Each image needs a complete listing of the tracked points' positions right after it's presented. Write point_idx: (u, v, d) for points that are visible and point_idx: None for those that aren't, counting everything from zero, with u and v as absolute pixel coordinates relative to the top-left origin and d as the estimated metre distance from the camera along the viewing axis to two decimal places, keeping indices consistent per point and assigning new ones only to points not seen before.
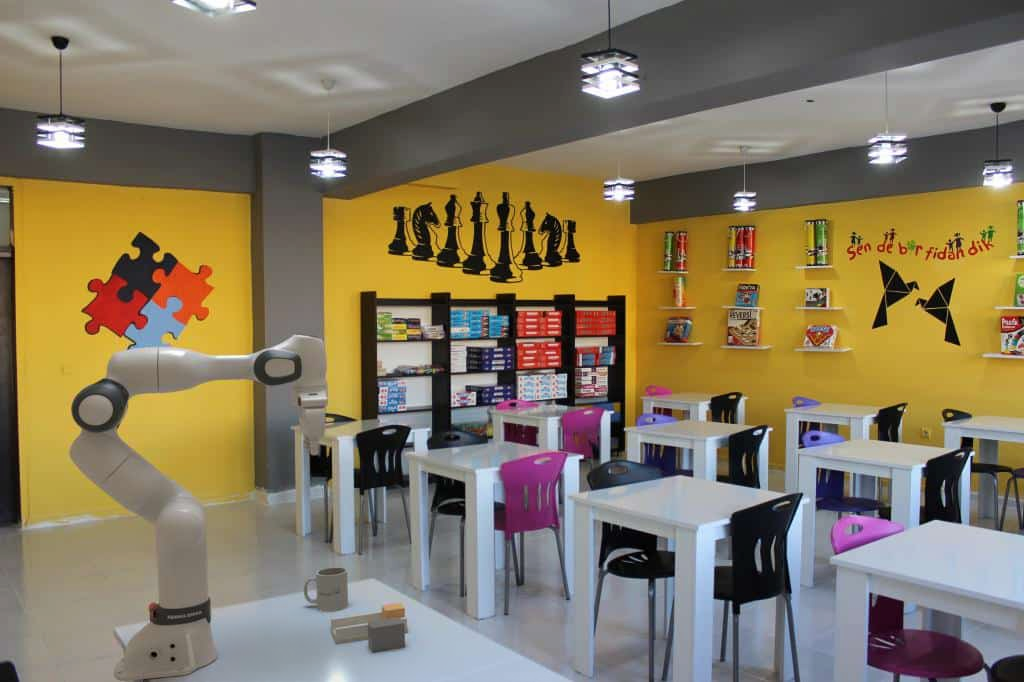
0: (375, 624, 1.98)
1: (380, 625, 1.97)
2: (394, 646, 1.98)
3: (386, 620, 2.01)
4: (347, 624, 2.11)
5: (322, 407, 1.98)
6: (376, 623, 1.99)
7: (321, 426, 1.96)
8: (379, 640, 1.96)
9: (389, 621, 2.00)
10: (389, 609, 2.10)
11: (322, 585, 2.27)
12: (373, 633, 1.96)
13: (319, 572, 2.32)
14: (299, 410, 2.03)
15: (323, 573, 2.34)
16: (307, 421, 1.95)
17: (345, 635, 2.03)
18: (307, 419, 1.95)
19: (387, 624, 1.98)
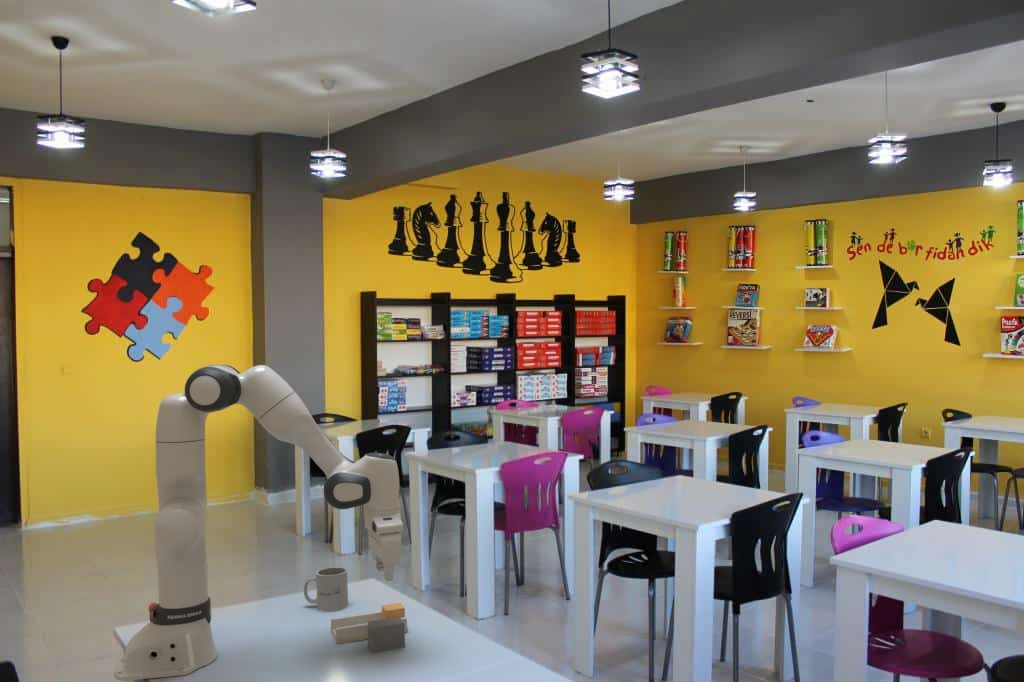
0: (375, 624, 1.98)
1: (380, 625, 1.97)
2: (394, 646, 1.98)
3: (386, 620, 2.01)
4: (347, 624, 2.11)
5: (397, 533, 1.92)
6: (376, 623, 1.99)
7: (397, 553, 1.91)
8: (379, 640, 1.96)
9: (389, 621, 2.00)
10: (389, 609, 2.10)
11: (322, 585, 2.27)
12: (373, 633, 1.96)
13: (319, 572, 2.32)
14: (372, 533, 1.97)
15: (323, 573, 2.34)
16: (383, 549, 1.90)
17: (345, 635, 2.03)
18: (383, 547, 1.90)
19: (387, 624, 1.98)
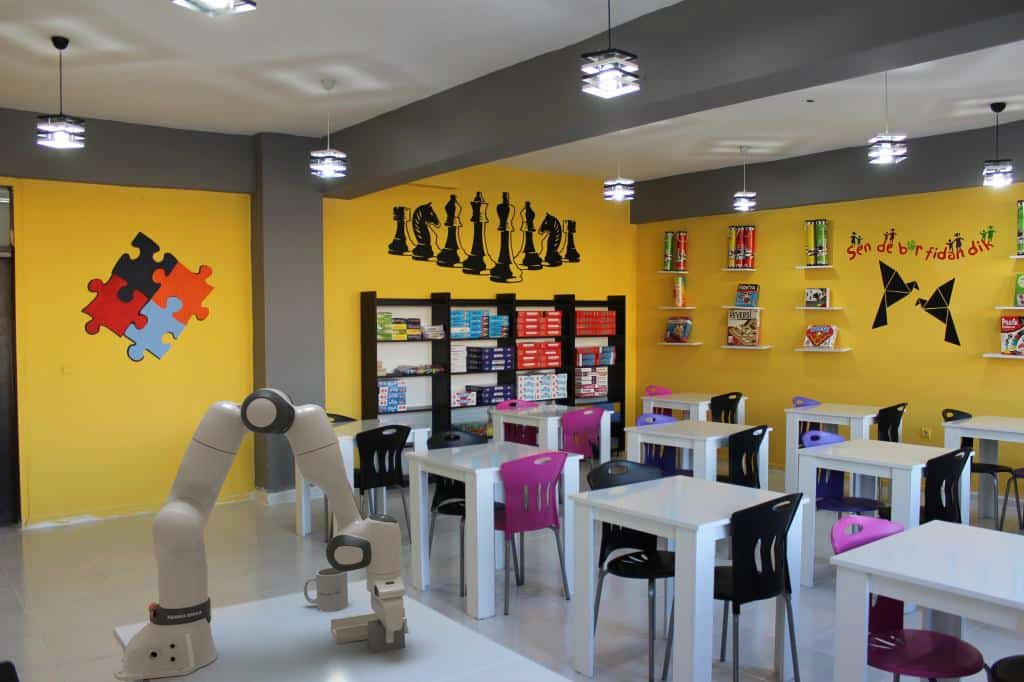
0: (375, 623, 1.98)
1: (380, 625, 1.97)
2: (394, 645, 1.98)
3: None
4: (347, 624, 2.11)
5: (400, 597, 1.92)
6: (376, 622, 1.99)
7: (399, 619, 1.91)
8: (379, 639, 1.96)
9: None
10: None
11: (322, 585, 2.27)
12: (373, 632, 1.96)
13: (319, 572, 2.32)
14: (374, 596, 1.97)
15: (323, 573, 2.34)
16: (385, 614, 1.90)
17: (345, 635, 2.03)
18: (385, 612, 1.90)
19: None
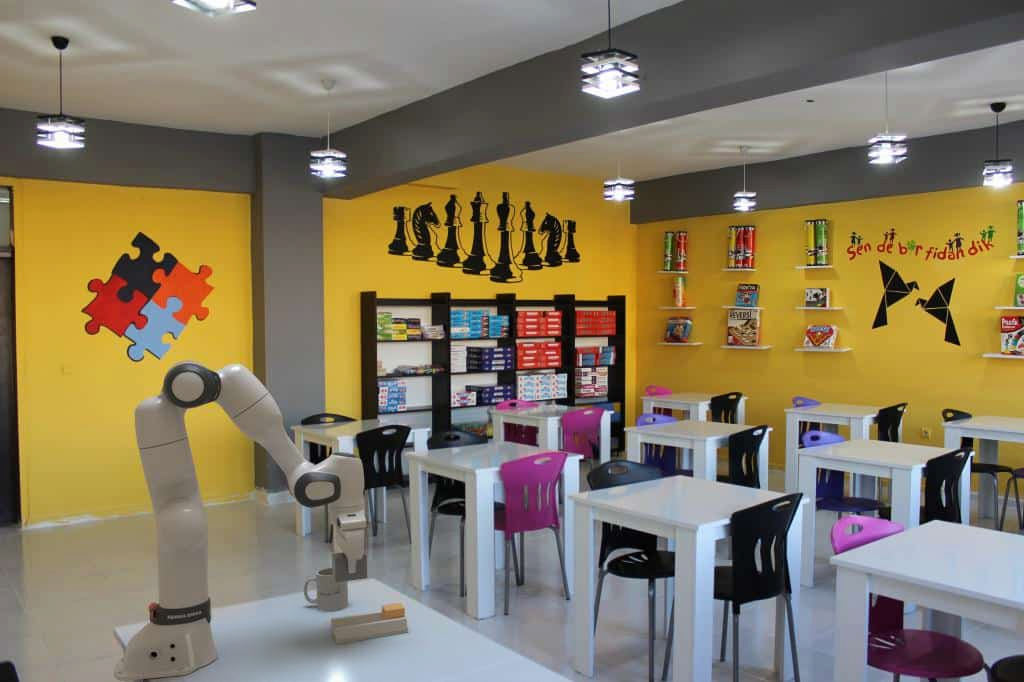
0: (338, 555, 2.07)
1: (343, 556, 2.06)
2: (357, 576, 2.06)
3: None
4: (347, 624, 2.11)
5: (361, 529, 2.01)
6: (340, 555, 2.08)
7: (360, 548, 1.99)
8: (342, 570, 2.05)
9: None
10: (389, 609, 2.10)
11: (322, 585, 2.27)
12: (336, 563, 2.05)
13: (319, 572, 2.32)
14: (337, 529, 2.06)
15: (323, 573, 2.34)
16: (347, 544, 1.99)
17: (345, 635, 2.03)
18: (347, 542, 1.99)
19: None
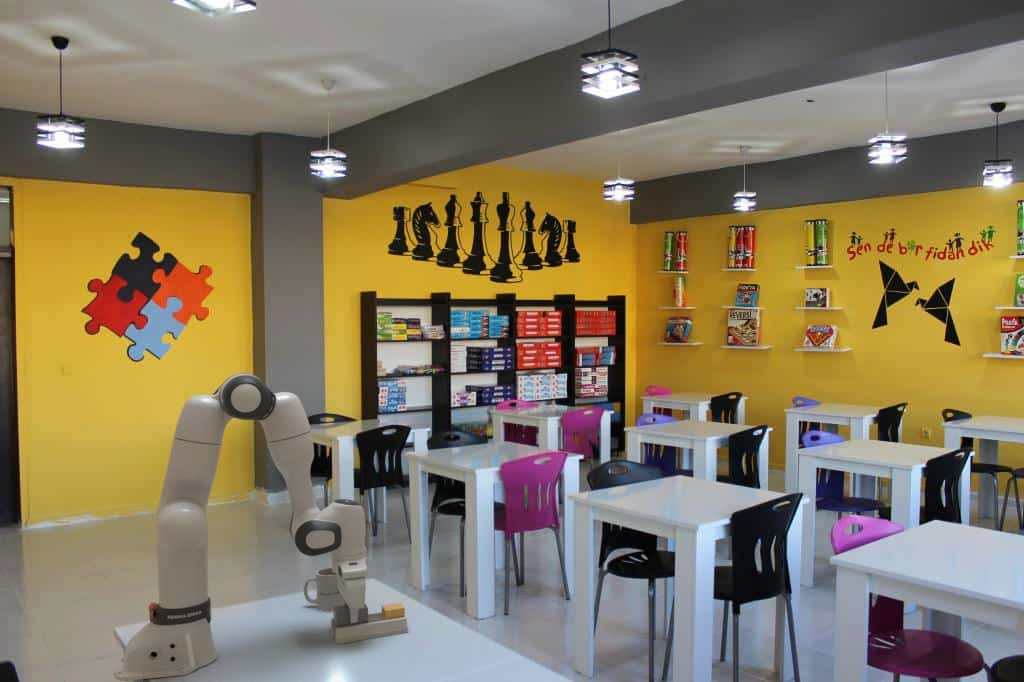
0: (340, 608, 2.07)
1: (344, 610, 2.06)
2: None
3: None
4: None
5: (362, 578, 2.01)
6: (341, 608, 2.08)
7: (362, 598, 1.99)
8: (344, 623, 2.05)
9: None
10: (389, 609, 2.10)
11: (322, 585, 2.27)
12: (337, 617, 2.05)
13: (319, 572, 2.32)
14: (339, 576, 2.06)
15: (323, 573, 2.34)
16: (348, 594, 1.99)
17: (345, 635, 2.03)
18: (348, 592, 1.99)
19: None
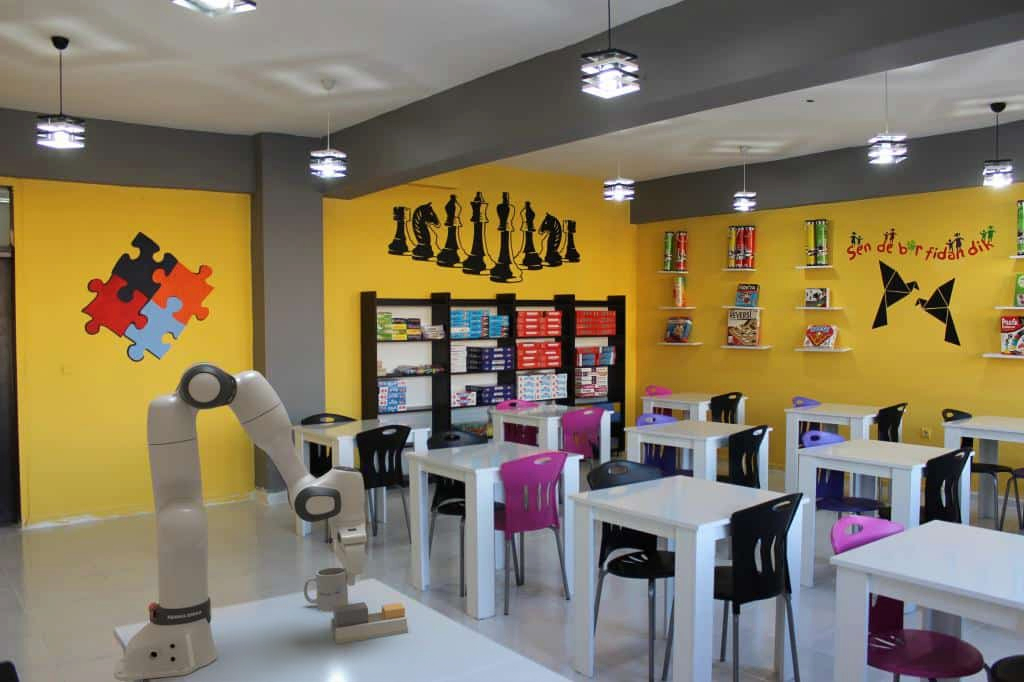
0: (340, 608, 2.07)
1: (344, 610, 2.06)
2: None
3: (351, 605, 2.10)
4: None
5: (361, 543, 2.01)
6: (341, 608, 2.08)
7: (361, 563, 1.99)
8: (344, 623, 2.05)
9: (354, 606, 2.09)
10: (389, 609, 2.10)
11: (322, 585, 2.27)
12: (337, 617, 2.05)
13: (319, 572, 2.32)
14: (338, 543, 2.06)
15: (323, 573, 2.34)
16: (347, 559, 1.99)
17: (345, 635, 2.03)
18: (347, 557, 1.99)
19: (351, 608, 2.07)
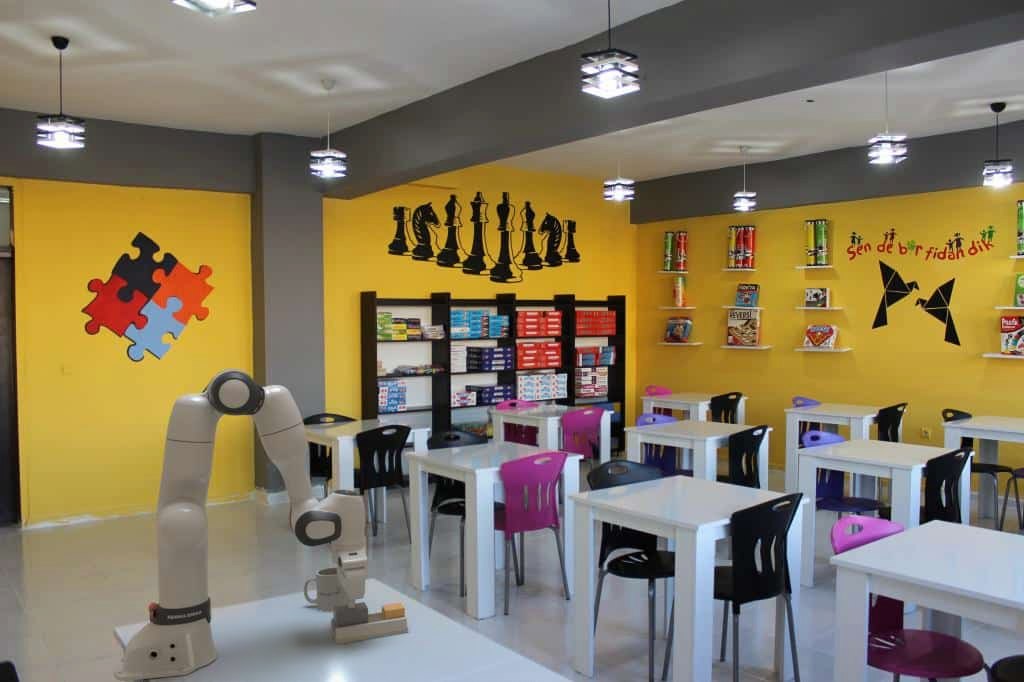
0: (340, 608, 2.07)
1: (344, 610, 2.06)
2: None
3: None
4: None
5: (362, 568, 2.01)
6: (341, 608, 2.08)
7: (361, 588, 1.99)
8: (344, 623, 2.05)
9: None
10: (389, 609, 2.10)
11: (322, 585, 2.27)
12: (337, 617, 2.05)
13: (319, 572, 2.32)
14: (339, 567, 2.06)
15: (323, 573, 2.34)
16: (348, 584, 1.99)
17: (345, 635, 2.03)
18: (348, 582, 1.99)
19: None
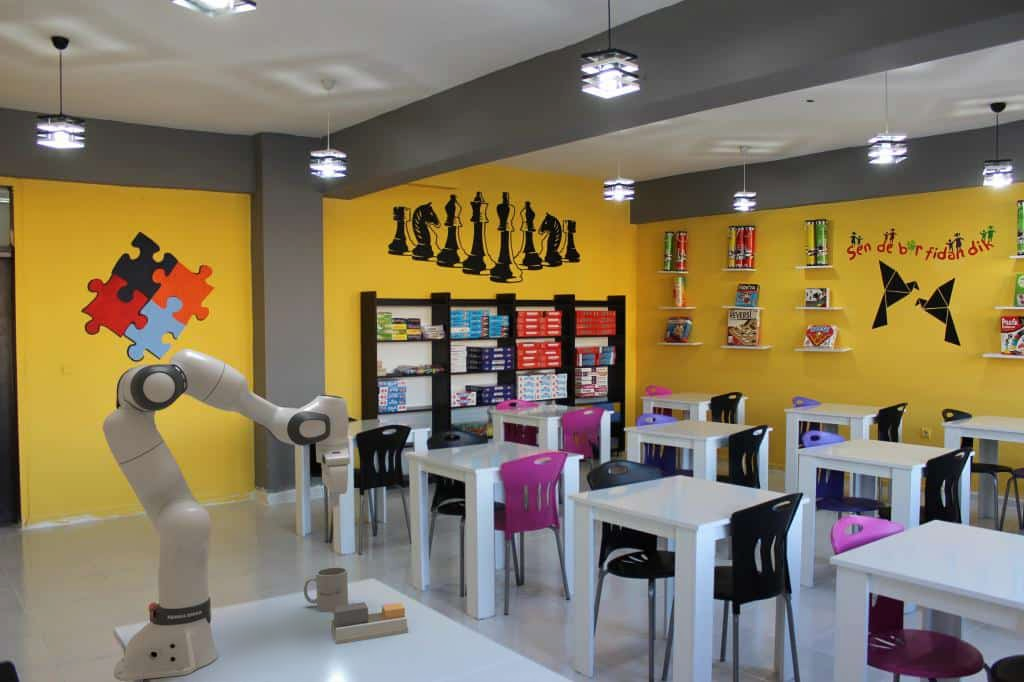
0: (340, 608, 2.07)
1: (344, 610, 2.06)
2: None
3: (351, 605, 2.10)
4: None
5: (345, 465, 2.12)
6: (341, 608, 2.08)
7: (344, 483, 2.10)
8: (344, 623, 2.05)
9: (354, 606, 2.09)
10: (389, 609, 2.10)
11: (322, 585, 2.27)
12: (337, 617, 2.05)
13: (319, 572, 2.32)
14: (323, 466, 2.17)
15: (323, 573, 2.34)
16: (331, 479, 2.09)
17: (345, 635, 2.03)
18: (331, 477, 2.09)
19: (351, 608, 2.07)
